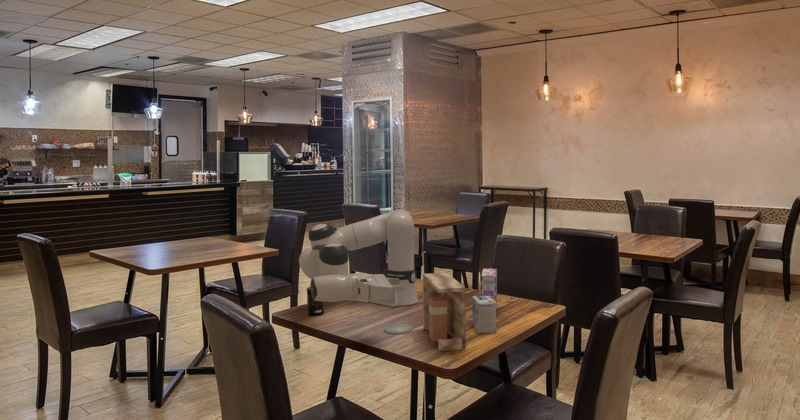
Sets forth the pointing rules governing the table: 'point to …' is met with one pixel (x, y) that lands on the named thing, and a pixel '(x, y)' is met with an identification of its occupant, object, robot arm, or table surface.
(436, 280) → the shelf
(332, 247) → the robot arm
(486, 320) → the light bulb box
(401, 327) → the disc
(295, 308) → the table surface
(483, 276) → the candy box
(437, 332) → the carton
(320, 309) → the supplement container
